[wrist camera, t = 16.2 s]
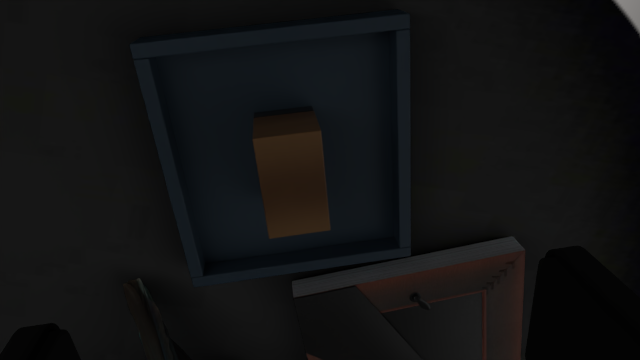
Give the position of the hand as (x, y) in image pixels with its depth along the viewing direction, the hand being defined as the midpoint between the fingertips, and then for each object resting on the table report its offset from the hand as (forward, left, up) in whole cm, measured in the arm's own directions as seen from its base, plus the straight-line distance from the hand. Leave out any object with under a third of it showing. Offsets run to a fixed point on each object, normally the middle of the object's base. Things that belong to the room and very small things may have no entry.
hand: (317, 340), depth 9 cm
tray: (+4, 0, -20) cm, 21 cm away
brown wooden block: (+4, 0, -19) cm, 20 cm away
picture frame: (+24, +8, -20) cm, 32 cm away
